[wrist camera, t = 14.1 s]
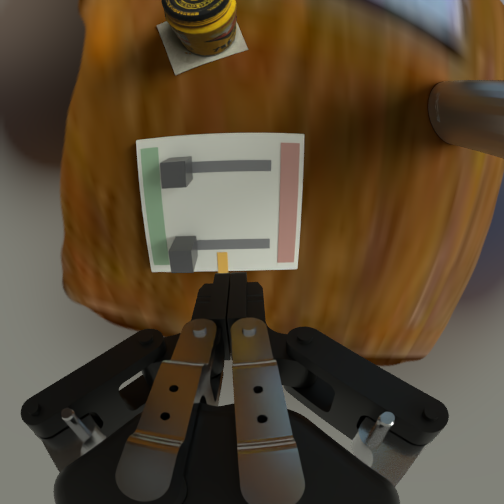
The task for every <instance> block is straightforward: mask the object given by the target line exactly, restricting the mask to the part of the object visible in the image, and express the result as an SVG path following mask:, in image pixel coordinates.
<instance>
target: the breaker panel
mask: <svg viewBox="0 0 504 504" xmlns="http://www.w3.org/2000/svg"><path fill="white" fill-rule="evenodd" d="M136 149H137V163H138V175H139V185H140V195H141V204H142V212H143V219H144V227H145V234H146V240H147V247H148V253H149V259H150V265H151V270H152V272H171V267H170V260H169V253H168V251H169V249H170V247H171V245H172V243H173V241H174V239H175V237H176V236H196V239H197V250H198V258H197V261H196V265H195V269H194V271H218V273H228V271H245V270H283V269H297V266H298V253H299V239H300V224H301V207H302V188H303V164H304V134H296V133H213V134H194V135H180V136H168V137H158V138H149V139H141V140H136ZM187 156H192V172H193V180H192V181H191V182H190V183H189V185H188V186H187V187H183V188H166V189H162V185H161V172H160V163H161V162H162V161H164V160H166V159H168V158H172V157H187Z"/></svg>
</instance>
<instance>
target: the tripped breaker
mask: <svg viewBox="0 0 504 504" xmlns="http://www.w3.org/2000/svg"><path fill="white" fill-rule="evenodd" d="M168 253H169V260H170V267H171V273H194V269H195V265H196V261H197V258H198V250H197V239H196V236H176V237H175V239H174V241H173V243H172V245H171V247H170V249H169V251H168Z"/></svg>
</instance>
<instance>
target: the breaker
mask: <svg viewBox="0 0 504 504" xmlns="http://www.w3.org/2000/svg"><path fill="white" fill-rule="evenodd" d="M160 172H161V185H162V189H166V188H183V187H187V186H188V185H189V183H190V182H191V181H192V180H193V172H192V156H187V157H172V158H168V159H166V160H164V161H162V162H161V163H160Z"/></svg>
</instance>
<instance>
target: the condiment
mask: <svg viewBox="0 0 504 504" xmlns="http://www.w3.org/2000/svg"><path fill="white" fill-rule="evenodd" d="M162 5H163V8H164V13H165V17H166V20H167V21H166V22H164V23H162V24H159V25H157V28H158V31H159V33H160V36H161V38H162V41H163V44H164V46H165V49H166V52H167V53H168V57H169V60H170V62H171V65H172V68H173V71H174V73H175V75H177V74H180V73H182V72H184V71H187V70H189V69H192V68H194V67H197V66H200V65H202V64H205V63H208V62H211V61H214V60H217V59H220V58H223V57H226V56H229V55H232V54H235V53H239V52H242V51H245V50H248V48H247V45H246V43H245V41H244V38H243V36H242V34H241V31H240V29H239V26H238V24H237V22H236V18H237V16H236V7H237V4H236V0H162ZM185 52H187V53H188V54H185ZM189 53H191V55H190V54H189Z"/></svg>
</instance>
